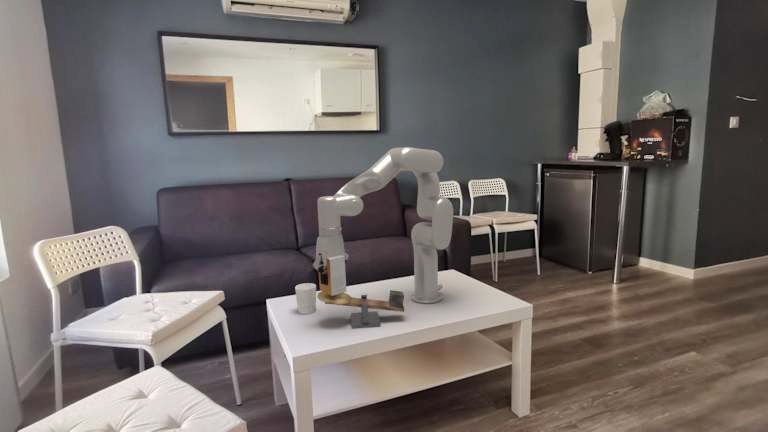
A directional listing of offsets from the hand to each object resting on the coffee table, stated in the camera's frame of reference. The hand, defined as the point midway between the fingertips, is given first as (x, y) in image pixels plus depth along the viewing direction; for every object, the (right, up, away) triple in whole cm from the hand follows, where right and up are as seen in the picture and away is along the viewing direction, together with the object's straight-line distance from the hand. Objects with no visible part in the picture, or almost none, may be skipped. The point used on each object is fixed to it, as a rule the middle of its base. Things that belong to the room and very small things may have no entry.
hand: (332, 281), depth 145 cm
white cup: (-12, -14, +14) cm, 23 cm away
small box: (0, -4, +1) cm, 4 cm away
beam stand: (+11, -15, +3) cm, 19 cm away
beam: (+10, -9, +2) cm, 14 cm away
